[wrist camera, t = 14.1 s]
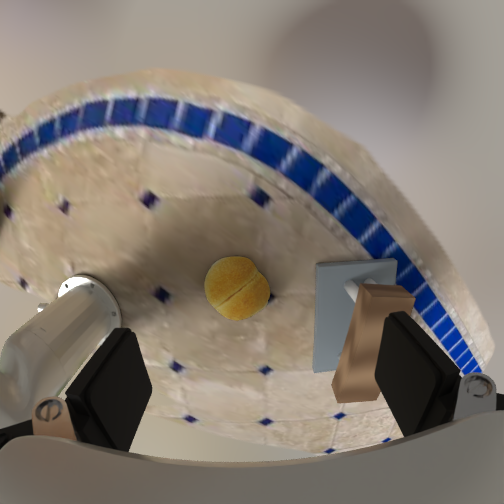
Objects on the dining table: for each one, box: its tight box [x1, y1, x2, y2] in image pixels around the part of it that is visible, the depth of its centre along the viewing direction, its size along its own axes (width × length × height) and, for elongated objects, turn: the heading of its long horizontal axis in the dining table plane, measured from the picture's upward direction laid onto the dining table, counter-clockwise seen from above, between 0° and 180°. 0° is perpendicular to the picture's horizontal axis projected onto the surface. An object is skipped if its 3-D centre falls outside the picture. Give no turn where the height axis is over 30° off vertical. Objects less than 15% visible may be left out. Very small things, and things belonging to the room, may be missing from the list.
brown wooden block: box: [331, 283, 416, 403], centre depth 32 cm, size 16×6×4 cm, turn 174°
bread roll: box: [204, 256, 270, 321], centre depth 38 cm, size 8×9×4 cm
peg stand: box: [312, 258, 397, 373], centre depth 38 cm, size 12×18×6 cm, turn 4°
